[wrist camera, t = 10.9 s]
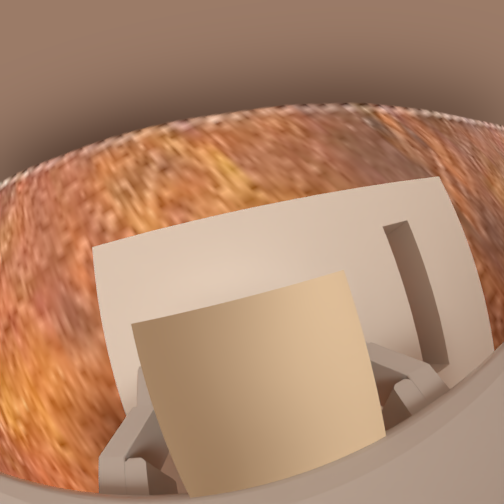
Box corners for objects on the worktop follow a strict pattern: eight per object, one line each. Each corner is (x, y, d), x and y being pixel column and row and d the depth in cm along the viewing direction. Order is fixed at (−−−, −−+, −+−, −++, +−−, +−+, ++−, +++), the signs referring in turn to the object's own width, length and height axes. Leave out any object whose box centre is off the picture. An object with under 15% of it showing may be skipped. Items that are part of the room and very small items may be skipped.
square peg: (268, 313, 15) (343, 270, 5) (288, 383, 14) (388, 449, 4) (195, 332, 14) (131, 324, 4) (215, 403, 13) (197, 510, 3)
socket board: (410, 200, 19) (438, 176, 16) (460, 363, 16) (495, 362, 12) (119, 266, 16) (92, 247, 12) (178, 476, 12) (166, 507, 9)
